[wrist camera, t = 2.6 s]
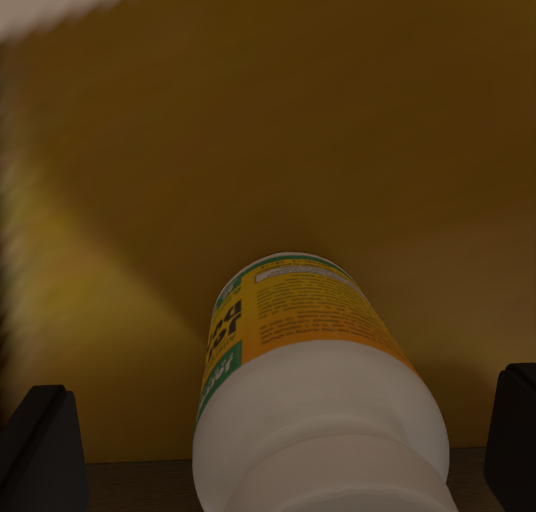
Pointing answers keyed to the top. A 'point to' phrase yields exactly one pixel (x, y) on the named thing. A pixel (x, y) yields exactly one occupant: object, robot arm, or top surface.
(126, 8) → the top surface
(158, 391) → the top surface
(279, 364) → the supplement bottle
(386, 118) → the top surface
